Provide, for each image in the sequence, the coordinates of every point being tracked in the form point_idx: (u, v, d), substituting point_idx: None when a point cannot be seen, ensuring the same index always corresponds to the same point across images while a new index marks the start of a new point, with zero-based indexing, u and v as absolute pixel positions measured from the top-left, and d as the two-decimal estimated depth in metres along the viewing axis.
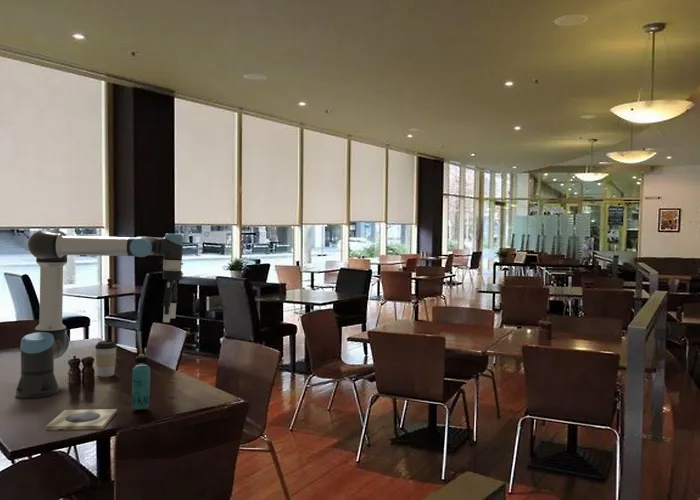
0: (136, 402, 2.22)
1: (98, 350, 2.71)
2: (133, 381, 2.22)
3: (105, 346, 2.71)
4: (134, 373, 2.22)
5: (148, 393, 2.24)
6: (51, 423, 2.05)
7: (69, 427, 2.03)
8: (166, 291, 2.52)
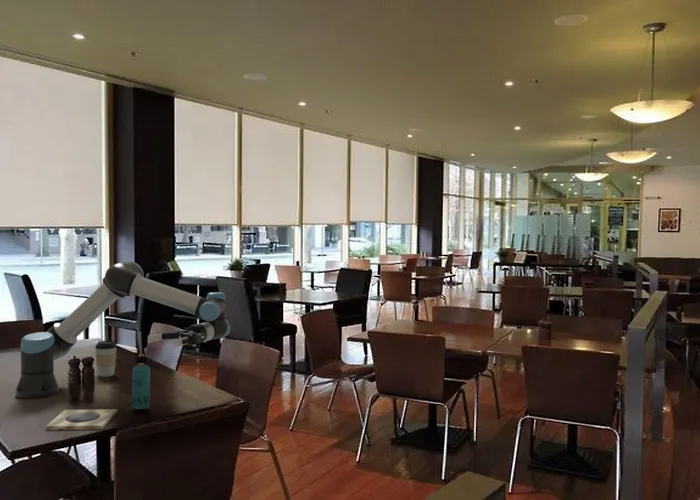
0: (136, 402, 2.22)
1: (98, 350, 2.71)
2: (133, 381, 2.22)
3: (105, 346, 2.71)
4: (134, 373, 2.22)
5: (148, 393, 2.24)
6: (51, 423, 2.05)
7: (69, 427, 2.03)
8: (200, 336, 2.40)
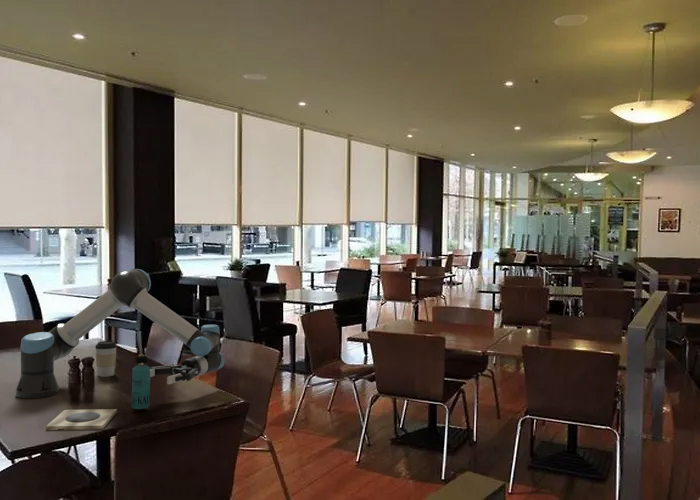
0: (136, 402, 2.22)
1: (98, 350, 2.71)
2: (133, 381, 2.22)
3: (105, 346, 2.71)
4: (134, 373, 2.22)
5: (148, 393, 2.24)
6: (51, 423, 2.05)
7: (69, 427, 2.03)
8: (193, 372, 2.37)
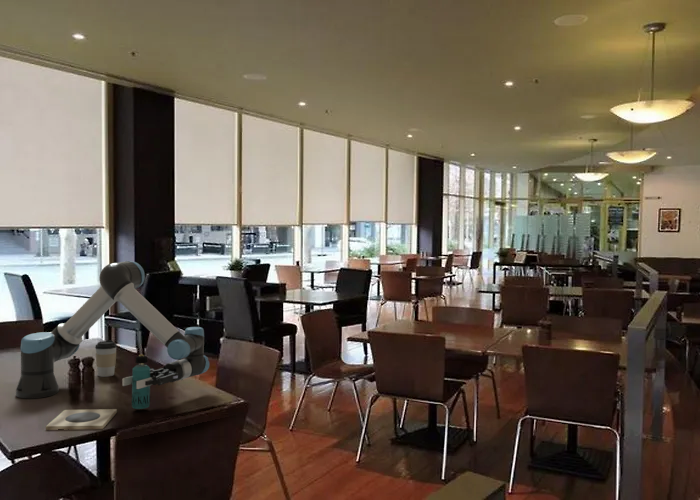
0: (136, 402, 2.22)
1: (98, 350, 2.71)
2: (133, 381, 2.22)
3: (105, 346, 2.71)
4: (134, 373, 2.22)
5: (148, 393, 2.24)
6: (51, 423, 2.05)
7: (69, 427, 2.03)
8: (170, 377, 2.28)
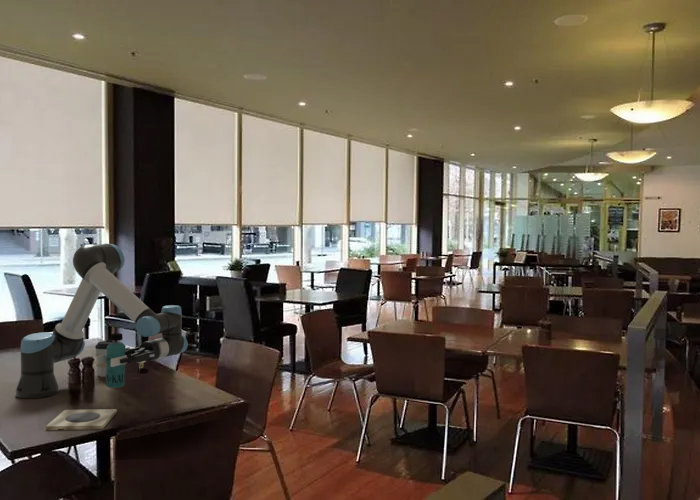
0: (110, 381, 2.14)
1: (98, 350, 2.71)
2: (107, 359, 2.14)
3: (105, 346, 2.71)
4: (108, 351, 2.14)
5: (123, 371, 2.16)
6: (51, 423, 2.05)
7: (69, 427, 2.03)
8: (146, 355, 2.21)
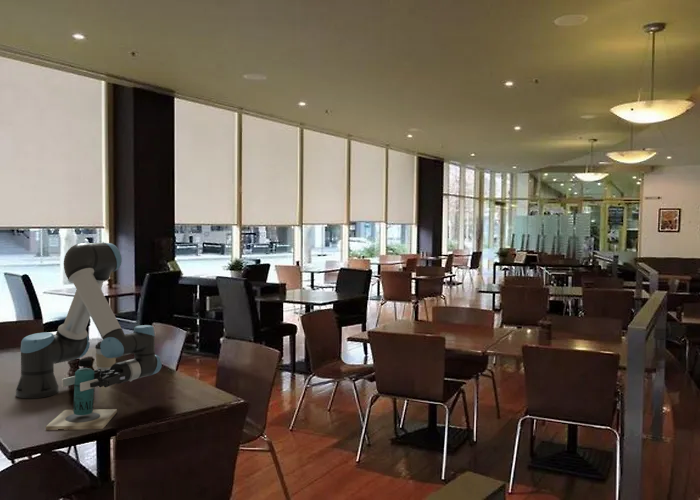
0: (77, 408, 2.09)
1: (98, 350, 2.71)
2: (75, 385, 2.10)
3: None
4: (76, 377, 2.09)
5: (91, 398, 2.11)
6: (51, 423, 2.05)
7: (69, 427, 2.03)
8: (116, 378, 2.16)
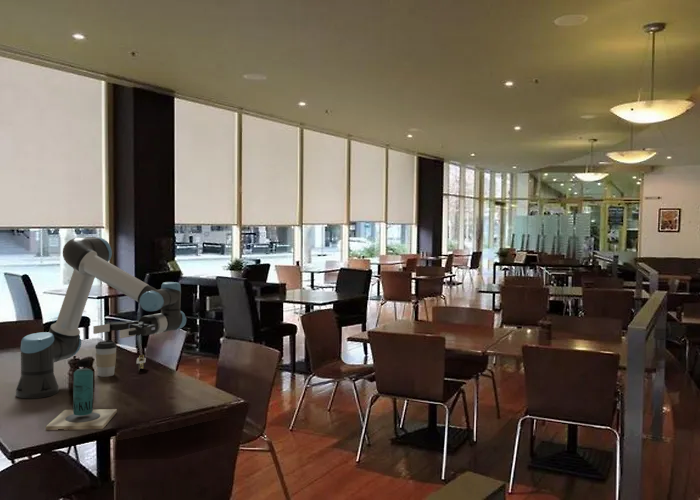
0: (77, 408, 2.09)
1: (98, 350, 2.71)
2: (74, 386, 2.09)
3: (105, 346, 2.71)
4: (75, 377, 2.09)
5: (90, 399, 2.11)
6: (51, 423, 2.05)
7: (69, 427, 2.03)
8: (150, 328, 2.27)
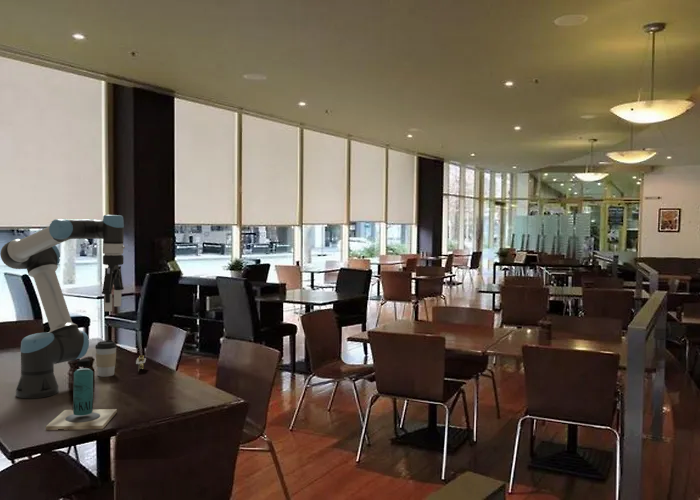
0: (77, 408, 2.09)
1: (98, 350, 2.71)
2: (74, 386, 2.09)
3: (105, 346, 2.71)
4: (75, 377, 2.09)
5: (90, 399, 2.11)
6: (51, 423, 2.05)
7: (69, 427, 2.03)
8: (106, 278, 2.32)
